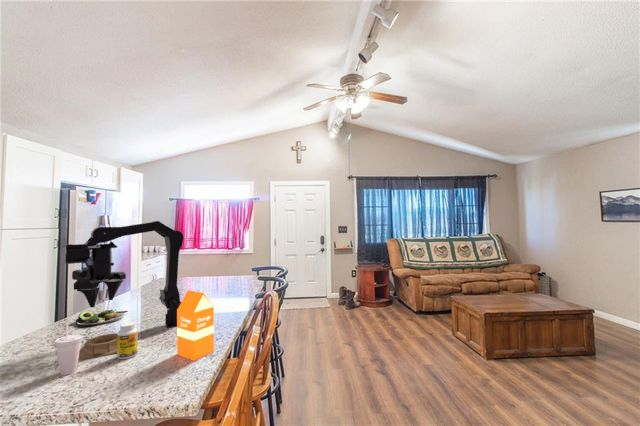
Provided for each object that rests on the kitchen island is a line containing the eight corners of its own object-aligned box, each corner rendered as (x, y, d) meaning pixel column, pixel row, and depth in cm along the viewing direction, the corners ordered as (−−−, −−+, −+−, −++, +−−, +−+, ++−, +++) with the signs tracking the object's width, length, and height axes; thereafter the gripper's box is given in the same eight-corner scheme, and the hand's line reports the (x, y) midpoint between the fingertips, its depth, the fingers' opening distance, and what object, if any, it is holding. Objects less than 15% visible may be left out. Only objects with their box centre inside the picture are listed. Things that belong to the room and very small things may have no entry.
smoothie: (65, 367, 89) (65, 320, 89) (88, 365, 90) (88, 319, 90) (47, 378, 83) (48, 327, 83) (72, 376, 83) (72, 326, 84)
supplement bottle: (116, 361, 92) (116, 328, 92) (117, 355, 97) (117, 323, 97) (137, 356, 95) (137, 324, 95) (137, 350, 100) (137, 320, 100)
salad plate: (124, 311, 147) (124, 301, 147) (132, 319, 134) (132, 309, 135) (74, 320, 134) (74, 310, 134) (78, 330, 121) (78, 319, 121)
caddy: (130, 339, 110) (130, 329, 110) (125, 351, 99) (125, 341, 99) (83, 347, 104) (83, 336, 104) (72, 361, 93) (72, 349, 93)
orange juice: (193, 360, 92) (193, 295, 92) (176, 354, 96) (176, 292, 97) (214, 350, 98) (214, 290, 99) (197, 345, 103) (197, 287, 104)
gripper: (98, 258, 118) (98, 297, 118) (57, 265, 100) (57, 312, 99) (126, 257, 118) (126, 296, 118) (90, 264, 100) (90, 311, 99)
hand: (101, 303), depth 109 cm, fingers open, 9 cm apart
